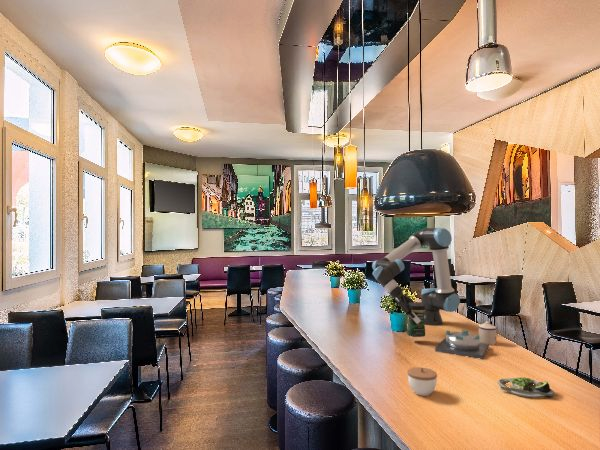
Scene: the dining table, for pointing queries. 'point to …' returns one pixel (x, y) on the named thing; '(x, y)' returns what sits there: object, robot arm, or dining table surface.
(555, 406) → the dining table surface
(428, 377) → the lidded jar
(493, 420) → the dining table surface
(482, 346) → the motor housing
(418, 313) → the coffee jar
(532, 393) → the salad plate
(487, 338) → the teacup with lid
